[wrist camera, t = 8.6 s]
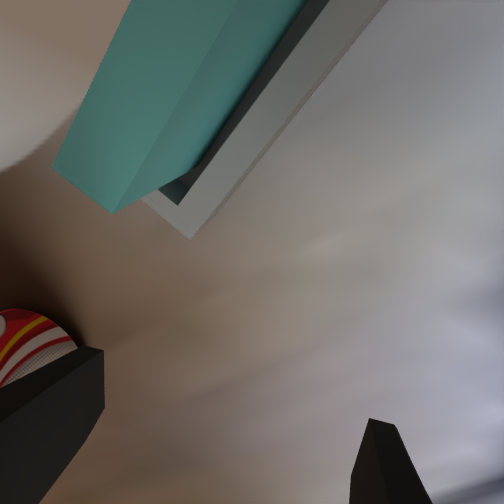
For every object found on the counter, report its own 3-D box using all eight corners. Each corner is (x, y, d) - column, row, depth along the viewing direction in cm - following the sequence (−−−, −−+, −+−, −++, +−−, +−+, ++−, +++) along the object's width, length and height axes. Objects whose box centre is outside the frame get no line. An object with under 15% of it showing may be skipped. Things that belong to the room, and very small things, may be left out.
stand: (416, -37, 14) (431, -64, 12) (212, 217, 19) (190, 240, 17) (287, -159, 14) (271, -217, 11) (113, 134, 19) (73, 144, 16)
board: (341, -50, 14) (332, -159, 8) (197, 166, 18) (111, 214, 11) (293, -90, 14) (243, -235, 7) (159, 135, 18) (50, 167, 11)
